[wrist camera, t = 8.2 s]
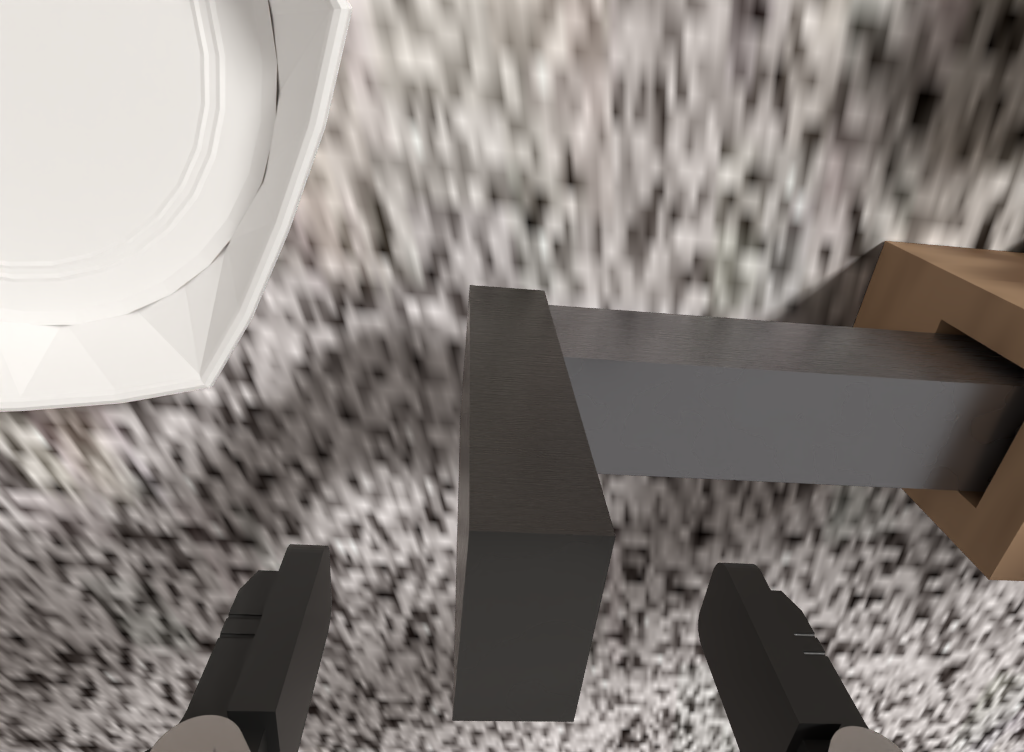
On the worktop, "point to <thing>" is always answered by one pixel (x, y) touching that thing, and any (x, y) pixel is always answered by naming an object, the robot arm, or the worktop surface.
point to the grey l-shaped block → (672, 453)
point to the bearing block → (996, 324)
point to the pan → (148, 184)
